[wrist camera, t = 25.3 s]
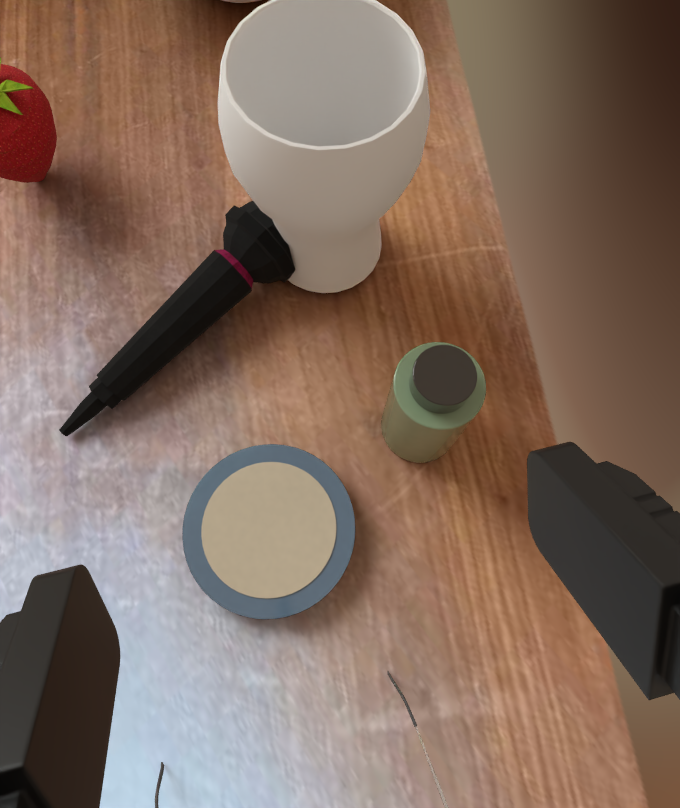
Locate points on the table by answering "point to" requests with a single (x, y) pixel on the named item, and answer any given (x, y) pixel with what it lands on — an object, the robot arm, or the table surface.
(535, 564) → the table surface
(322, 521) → the saucer
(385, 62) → the cup
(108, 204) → the table surface
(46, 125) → the strawberry
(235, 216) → the microphone
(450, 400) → the pepper shaker
